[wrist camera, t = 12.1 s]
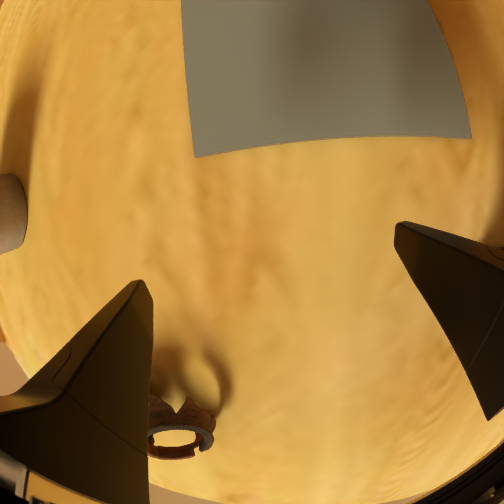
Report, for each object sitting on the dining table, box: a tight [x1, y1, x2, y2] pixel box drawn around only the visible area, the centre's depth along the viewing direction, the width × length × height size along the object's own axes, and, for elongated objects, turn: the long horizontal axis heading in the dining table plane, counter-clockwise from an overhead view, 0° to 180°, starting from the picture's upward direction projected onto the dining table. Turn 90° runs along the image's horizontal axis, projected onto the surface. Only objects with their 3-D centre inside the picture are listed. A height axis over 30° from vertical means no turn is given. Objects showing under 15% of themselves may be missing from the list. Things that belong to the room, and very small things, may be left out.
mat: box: [181, 0, 472, 158], centre depth 14 cm, size 20×19×1 cm
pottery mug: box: [148, 395, 216, 460], centre depth 23 cm, size 12×10×8 cm
